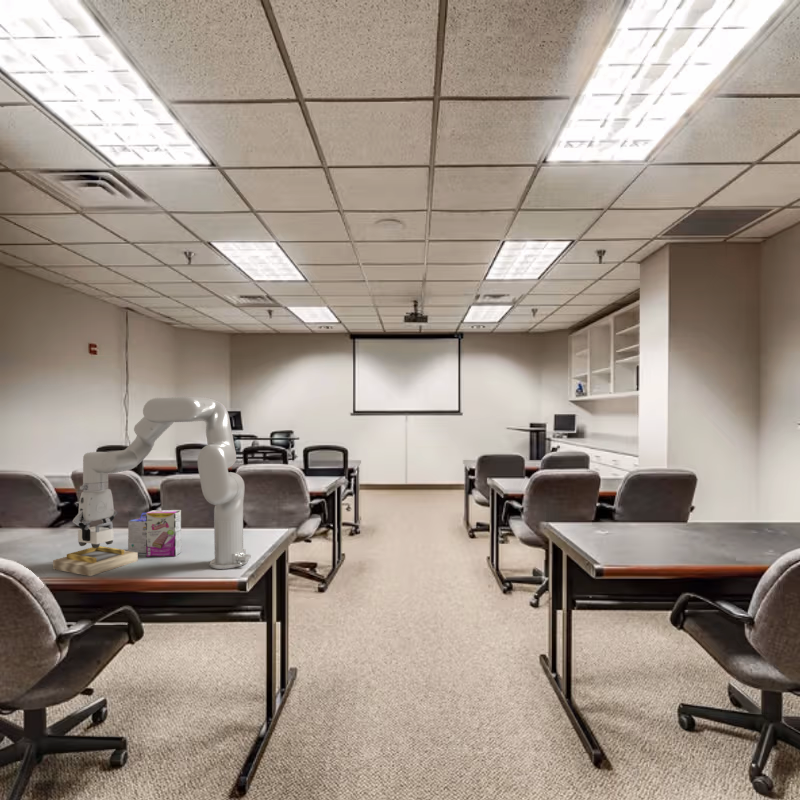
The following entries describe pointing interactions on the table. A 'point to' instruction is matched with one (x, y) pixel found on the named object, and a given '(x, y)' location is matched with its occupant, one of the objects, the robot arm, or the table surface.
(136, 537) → the ink cartridge box
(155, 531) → the candy bar box
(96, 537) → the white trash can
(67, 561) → the dock
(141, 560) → the table surface
